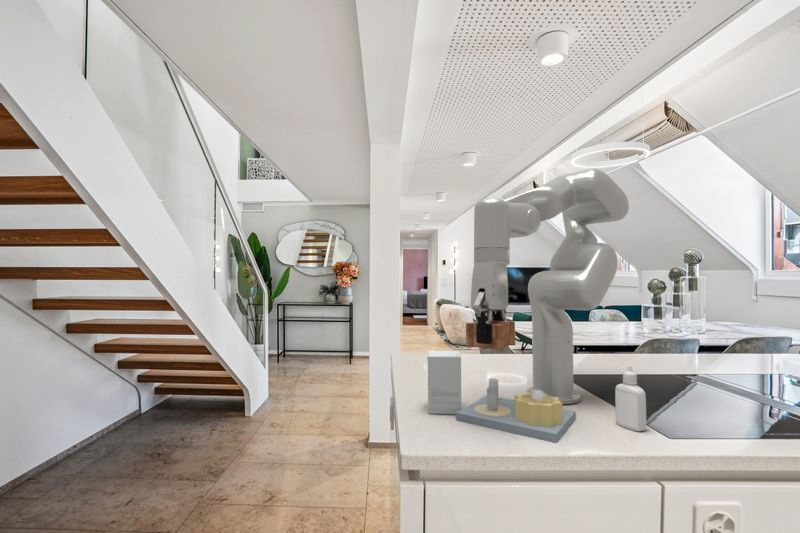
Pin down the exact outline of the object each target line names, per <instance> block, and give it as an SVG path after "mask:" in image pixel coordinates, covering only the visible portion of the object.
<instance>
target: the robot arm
mask: <svg viewBox="0 0 800 533" xmlns="http://www.w3.org/2000/svg"><path fill="white" fill-rule="evenodd" d="M629 204H630V203H629V200H628V196H627V195H626V193H625V192H624V191H623V189H622V188H621V187H620V186H619V185H618V183H616V182H615V180H613V179H612V177H610V176H609V175H608V174H607V173H605V171H602V170H600V169H597V168H591V169H586V170H581V171H580V170H579V171H575V172H571V173H567V174H563V175H561V176H560V175H559V176H557V177H555V178H554V179H551V180H550V181H548V182H546V183H544V184H542V185H540V186H537V187H536V188H533V189H530V190H527V191H525V192H523V193H520V194H518V195H515V196H512V197H510V198H507V199H504V200H503V199H498V198H497V199H496V198H490V199H483V200H480V201H479V200H478V202H477V203H476V204H475V205H474V210H473V212H474V214H473V215H474V216H473V269H472V276H471V285H470V286H471V287H470V288H471V290H470V307H471V309H472V310H473V311H474V316H475V322H476V342H477V343H483V344H491V343H492V324H490V321H491V320H492V321H507V320H506V319H507V318H506V313H507V311H506V310H507V308H508V306H509V281H508V280H509V278H508V266H509V265H510V262H511V260H510V253H511V252H510V250H511V249H510V248H511V246H510V244H511V241H510V240H511V239H515V238H524V237H528V236H529V237H530V236H531V235H533V234H535V233H536V232H537V231H538V230H539V228H540V226H541V222H544V221H547V220H551V219H553V218H555V217H556V216H558V215H560V214H561V213H562V218H563V220H562V221H563V224H564V225H563V226H564V230H565V231H564V232H565V236H564V239H563V240H562V242H561V243H560V245H559V246H558V248H557V249H556V250H555V252H554V253H553V255H552V257H551V260H550V263H549V269H550V270H543V271H540V272H537V273H535V274H534V275H532V276H531V277H530V279H529V281H528V283H527V284H528V285H527V293H528V299H529V303H530V304H529V305H530V308H531V319H532V320H531V321H532V326H531V327H532V387H529V388H527V389H526V391H525V393H532V390H541V391H543V392H544V394H546V395H548V396H551V397H557V398H559V402H561V403H562V405H572V404H573V405H574V404H577V403H579V402H580V401H581V395H580V393H579V392H578V391H574V390H575V389H574V329H573V325H572V322H571V319H570V317H569V316H568V315H567V313H566V312H565V311H566V310H568V311H569V310H571V311H572V310H574V311H591V310H594V309H596V308H597V307H599V305H601V303H602V301H603V300H604V298H605V296H606V293H607V292H608V290H609V288H610V286H611V284H612V282H613V280H614V278H615V276H616V273H617V271H618V255H617V252H616V251H615V249H614V247H613V246H611V245H610V244H608V243H604V242H598V238H597V236H596V235H595V233H593V231H592V230H591V229H590V228H589V227H588V226H587V225H593V224H604V223H611V222H618V221H620V220H623V219H624V218H625V217H626V216H627V214H628V213H629V207H630V206H629Z"/></svg>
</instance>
